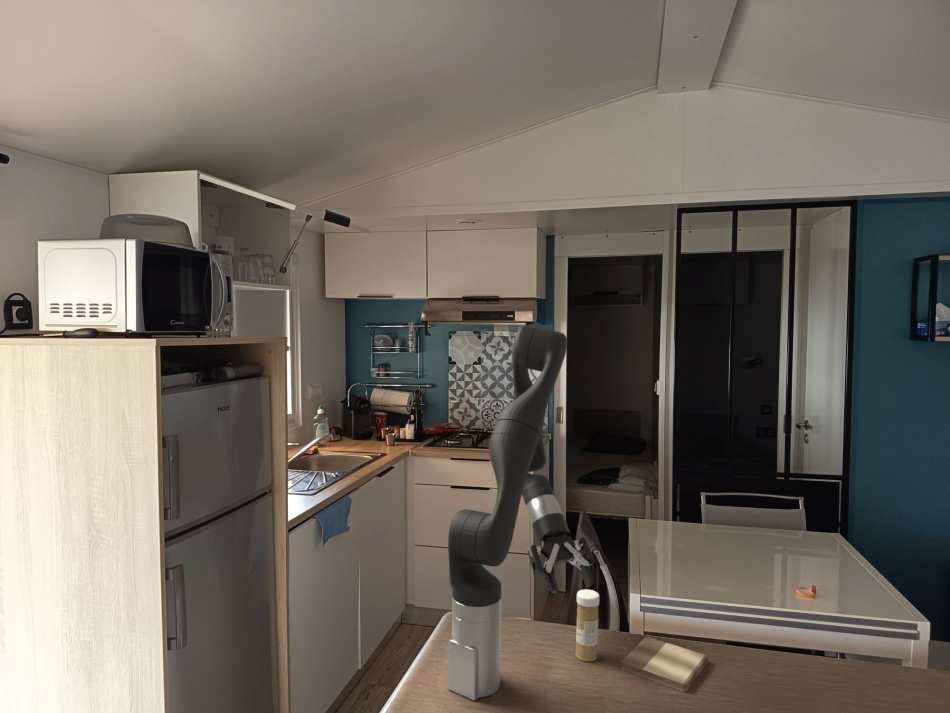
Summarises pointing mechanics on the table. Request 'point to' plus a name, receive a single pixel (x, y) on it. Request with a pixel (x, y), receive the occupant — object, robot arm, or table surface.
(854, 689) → the table surface
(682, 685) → the board
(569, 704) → the table surface
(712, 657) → the table surface
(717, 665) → the table surface
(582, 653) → the sprinkles bottle
